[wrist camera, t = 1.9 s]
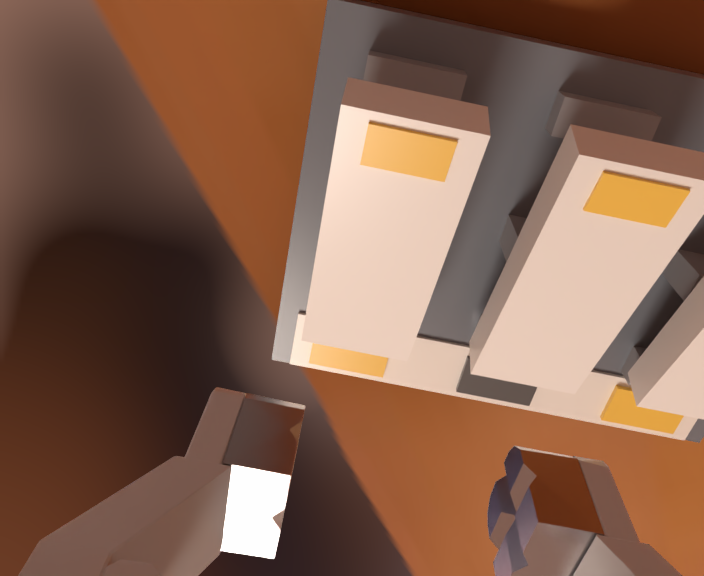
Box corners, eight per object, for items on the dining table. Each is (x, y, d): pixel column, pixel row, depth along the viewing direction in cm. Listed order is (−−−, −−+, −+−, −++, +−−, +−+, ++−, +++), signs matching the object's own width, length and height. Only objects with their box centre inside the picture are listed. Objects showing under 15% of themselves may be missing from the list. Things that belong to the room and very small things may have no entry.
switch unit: (332, -6, 26) (320, 3, 22) (869, 110, 27) (951, 139, 23) (277, 338, 35) (262, 389, 31) (684, 418, 36) (721, 477, 32)
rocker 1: (347, 76, 21) (340, 106, 20) (487, 106, 22) (491, 138, 20) (308, 309, 30) (300, 343, 28) (409, 329, 30) (407, 364, 28)
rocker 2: (570, 124, 22) (579, 156, 20) (706, 153, 22) (726, 187, 20) (469, 341, 30) (470, 376, 29) (568, 361, 30) (575, 396, 29)
